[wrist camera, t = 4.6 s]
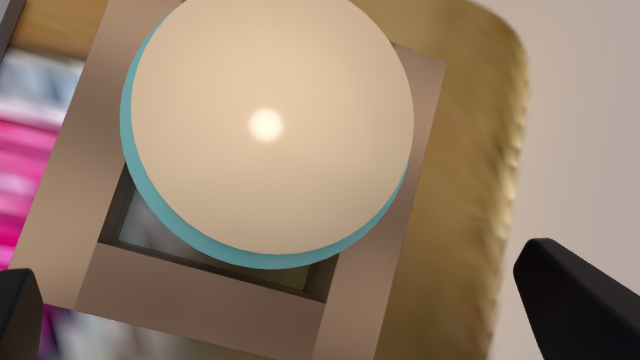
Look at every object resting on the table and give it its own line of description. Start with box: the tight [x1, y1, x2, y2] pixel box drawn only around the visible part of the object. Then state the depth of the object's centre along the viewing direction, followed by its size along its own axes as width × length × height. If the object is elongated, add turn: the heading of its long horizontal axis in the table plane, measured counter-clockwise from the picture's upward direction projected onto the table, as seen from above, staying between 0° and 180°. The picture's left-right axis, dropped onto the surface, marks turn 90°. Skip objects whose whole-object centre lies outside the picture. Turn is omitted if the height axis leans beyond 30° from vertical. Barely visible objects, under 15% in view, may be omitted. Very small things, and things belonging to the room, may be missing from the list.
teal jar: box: [120, 0, 414, 269], centre depth 14 cm, size 6×6×10 cm
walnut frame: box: [8, 0, 447, 360], centre depth 17 cm, size 11×11×4 cm
